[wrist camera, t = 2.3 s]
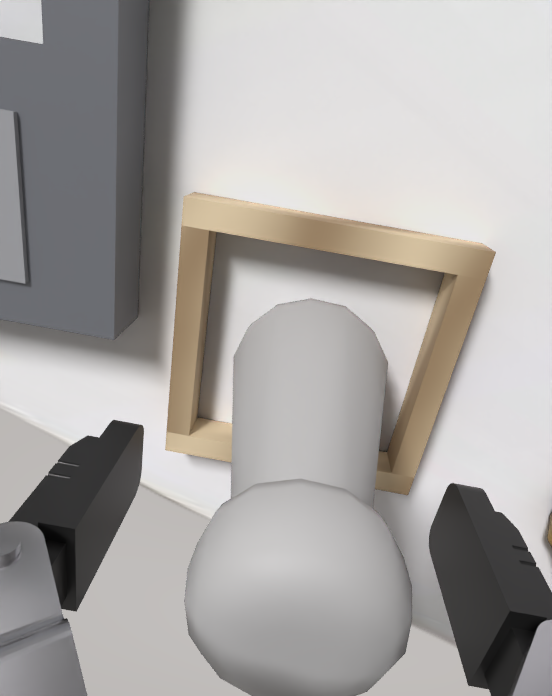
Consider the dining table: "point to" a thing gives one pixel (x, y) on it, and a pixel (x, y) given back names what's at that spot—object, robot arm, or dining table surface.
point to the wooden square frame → (338, 237)
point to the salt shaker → (302, 517)
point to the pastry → (550, 531)
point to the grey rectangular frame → (73, 167)
